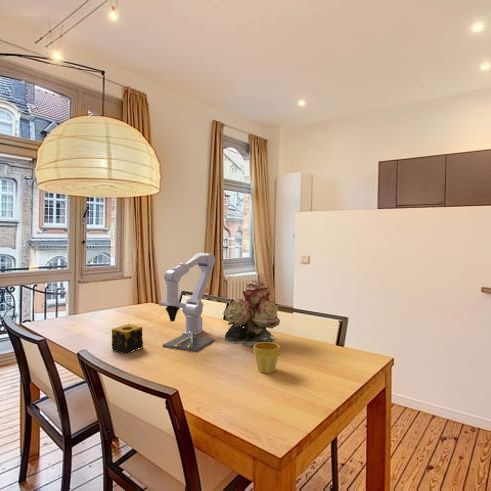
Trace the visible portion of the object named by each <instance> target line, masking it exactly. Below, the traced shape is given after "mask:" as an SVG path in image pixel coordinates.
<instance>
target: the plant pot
mask: <svg viewBox="0 0 491 491" xmlns="http://www.w3.org/2000/svg"><path fill="white" fill-rule="evenodd" d="M280 352H281V346H280V345H279V344H278V343H275V342H272V343H271V342H260V343H256V344H255V345H254V346H253V355H254V356H255V361H256V364H257V370H258V372H260V373H263V374H272V373H274V372H275V371H276V366H277V362H278V357H279V356H280V354H281V353H280Z"/></svg>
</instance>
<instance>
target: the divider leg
mask: <svg viewBox="0 0 491 491" xmlns="http://www.w3.org/2000/svg"><path fill="white" fill-rule="evenodd" d="M187 335H188V336H190V343H191V345H193V336H195V335H194V331H188V334H187Z"/></svg>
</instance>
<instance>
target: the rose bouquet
mask: <svg viewBox="0 0 491 491" xmlns="http://www.w3.org/2000/svg"><path fill="white" fill-rule="evenodd" d="M265 284H267V282H266V281H263V280H260V281H257V280H251V281H250V282H247V283H246V288H247V289H246V290H243V291H242V294H243V298H244V299H243V298H239V297H237V298H235V299H234V300H232V302H231V303H230V304H229V305H227V307H226V308H225V309H224V311H223V316H225V317H226V319H227V320H228V324H227V325H230V326H229V328H228V330H227V331H226V332H225V335H224V341H225V342H226V343H229V344H241V345H242V346H243V347H254V345H255V344H256V343H260V342H271V343H273V342H274V341H275V340H277V338H274V334H272V332H271V331H269V330H267V329H274V328H275V327H278V326H280V322H281V320H280V318H279V316H278V311H279V307H278V306H277V305H276V304H275V303H274V302H273V301H271V300H270V296H271V289H269V287H268V286H266V285H265Z"/></svg>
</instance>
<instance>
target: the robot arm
mask: <svg viewBox="0 0 491 491" xmlns="http://www.w3.org/2000/svg"><path fill="white" fill-rule="evenodd" d="M215 258H216V257H215V255H214V254H213V253H211V252H210V253H208V252H197V253H196V254H194V256H193V257H191V258H190V259H189V260H188V261H186V262H179V264H178V265H177V266H174V267H173V268H172V269H169V270H167V271H166V272H165V273H164V275H163V279H164V280H165V285H166V301H164V300H163V301H159V305H158V306H159V307H161V306H162V307H165V311H166V312H167V314H168V317H169V318H168V319H169V321H170V322H171V323H172V322H175V321H176V317H177V314H178V312H179V309H182V313H183V314H184V317H185V331H183V332H181V333H182V334H181V335H183V334H185V335H188V331H194V336H198V335H199V334H201V333H202V332H204V331H205V330H204V329H203V317H202V314H203V308H204V302H203V301H202V299H203V296H204V294H205V291H206V288H207V285H208V283H209V280H210V278H211V275H212V272H213V269H214V265H215V263H216V259H215ZM194 266H198V268H199V270H200V271H201V272H200V275H199V276H198V279H197V282H196V284H195V287H194V290H193V292H192V295H191V297H190V298H188V299H186V301H185V303H184V302H183V303H182V302H179V282H180V281H181V279H182V277H184V276H185V275H186V274H188V273H189V271H190V269H191V268H193V267H194Z"/></svg>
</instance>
